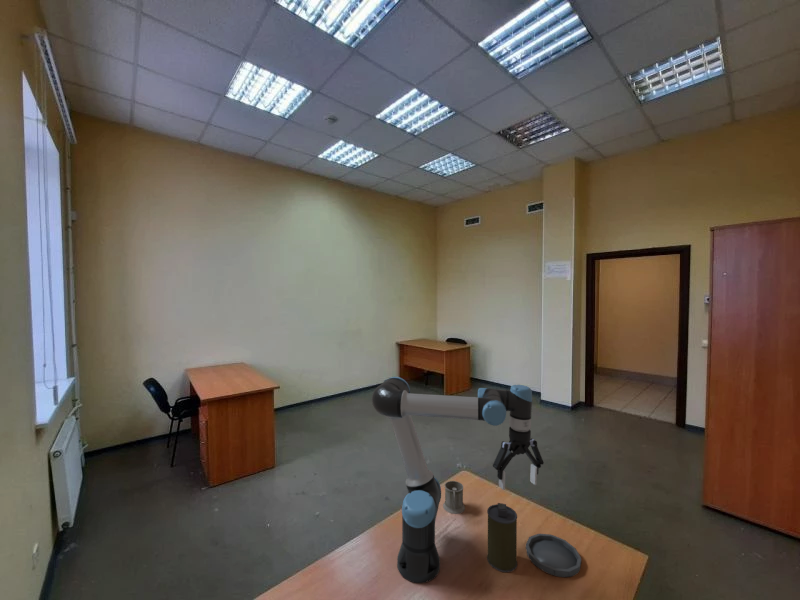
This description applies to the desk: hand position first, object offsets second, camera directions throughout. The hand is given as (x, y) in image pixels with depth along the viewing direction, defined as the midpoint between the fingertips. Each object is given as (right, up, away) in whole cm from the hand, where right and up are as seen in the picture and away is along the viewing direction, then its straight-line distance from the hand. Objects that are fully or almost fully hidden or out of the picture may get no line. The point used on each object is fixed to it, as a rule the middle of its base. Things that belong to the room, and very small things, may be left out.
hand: (517, 485), depth 122 cm
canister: (-7, -26, -2) cm, 27 cm away
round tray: (+13, -26, 0) cm, 29 cm away
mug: (-19, -26, +27) cm, 42 cm away
